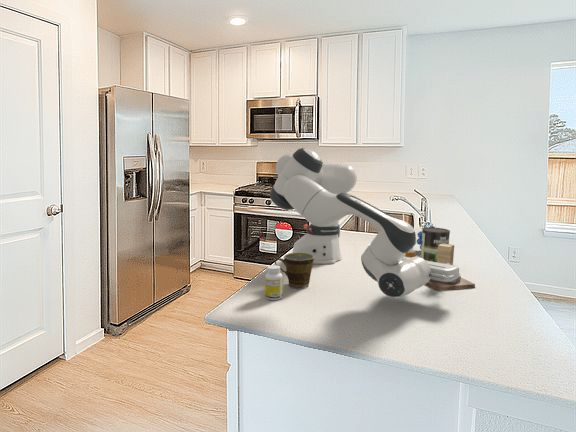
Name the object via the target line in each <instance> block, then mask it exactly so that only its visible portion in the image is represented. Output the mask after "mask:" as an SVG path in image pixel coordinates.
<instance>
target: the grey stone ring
mask: <svg viewBox="0 0 576 432" xmlns="http://www.w3.org/2000/svg"><path fill="white" fill-rule="evenodd" d="M461 276H462V275H461V273H460V272H459V276H458V278H457V279H455V280H453V281H449V282H443V281H438V280H433V279H430V280H431V281H433V282H438V283H443V284H456V283H459V282H460V280H461V278H462V277H461Z"/></svg>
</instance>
